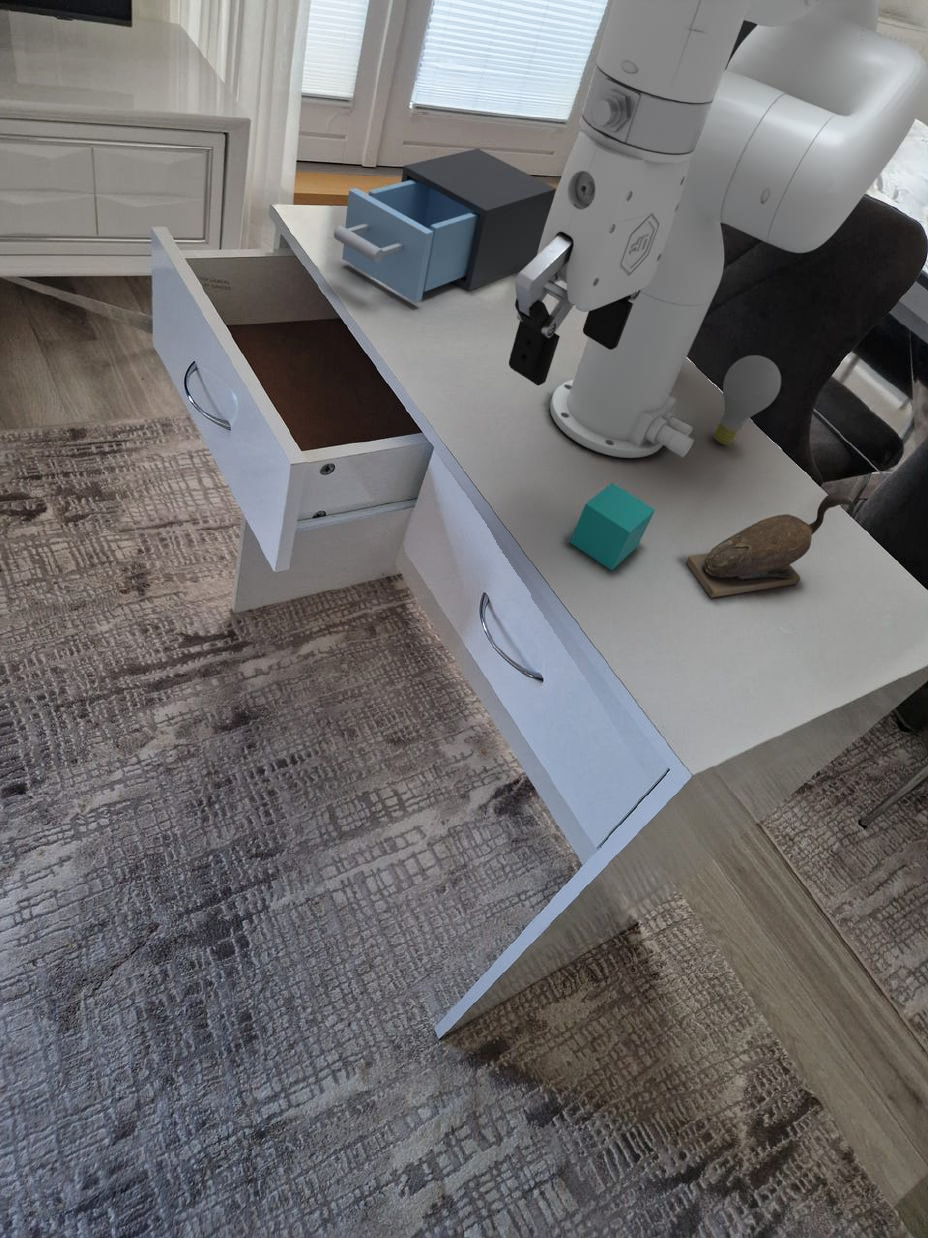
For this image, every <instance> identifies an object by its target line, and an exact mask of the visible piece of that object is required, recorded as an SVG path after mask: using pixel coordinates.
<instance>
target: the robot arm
mask: <svg viewBox="0 0 928 1238" xmlns="http://www.w3.org/2000/svg"><path fill="white" fill-rule="evenodd" d="M879 10H880V9H879V0H612V5H611V7H610V11H609V16H608V19H607V22H606V27H605V28H604V32H603V36H602V40H601V44H600V49H599V52H598V55H597V58H596V63H595V65H594V67H593V71H592V75H591V79H590V83H589V86H588V89H587V94H586V97H585V101H584V105H583V108H582V112H581V115H580V118H579V122H578V124H579V127H580V130H581V131H579V132H578V135H577V137H576V140H575V142H574V144H573V147H572V149H571V151H570V154H569V156H568V159H567V161H566V164H565V167H564V169H563V172H562V175H561V177H560V180H559V183H558V186H557V188H556V192H555V195H554V199H553V203H552V205H551V209H550V212H549V215H548V218H547V221H546V224H545V228H544V231H543V234H542V238H541V241H540V245H539V249H538V253H537V256H536V257H535V258H534V259H533V260H532V261H531V262H530V263H529V264H528V265H527V266H526V267H525V268H524V269H522V270H520V271H518V274H517V275H516V277H515V283H514V284H515V294H516V295H515V296H516V298H515V302H514V307H515V309H516V312H517V313H516V318H517V320H519V323H518V327H517V330H516V334H515V337H514V342H513V345H512V348H511V351H510V356H509V360H508V366H509V367H510V369H511V370H513V371H514V372H515V373H517V374H519V375H520V376H522V377H524V378H525V379H527V380H528V381H530V382H531V383H533V384H534V385H536V386H541V385H543V384H545V383H546V381H547V378H548V375H549V373H550V369H551V366H552V363H553V359H554V356H555V353H556V350H557V347H558V343H559V341H560V335H559V334H557V333H556V332H557V330H558V329H559V327H560V326H561V325H562V323H563V321H564V320H565V319H566V318H567V316H568V315H569V313H570V311H572V309H573V307H574V306H575V308H576V310H578V311H580V312H582V313H587V312H588V313H587V316H586V319H585V321H584V324H583V327H582V333H583V335H585V336H586V337H587V341H586V343H585V346H584V349H583V351H582V352H583V353H582V354H581V358H580V361H579V363H578V366H577V369H576V373H575V375H574V378H573V379H570V380H568V381H565V382H563V383H562V384H560V385H559V386H557V387H556V389H555V390H554V391H553V394H552V396H551V399H550V403H549V411H550V415H551V417H552V419H553V421H554V423H555V424H556V425H557V427H558V428H559V429H560V430H561V431H562V432H563V433H564V434H565V435H566V436H567V437H569V438H570V439H572V440H573V441H575V442H576V443H577V444H579V445H581V446H583V447H585V448H586V449H589V450H591V451H594V452H596V453H600V454H603V455H606V456H609V457H615V458H623V459H624V458H625V459H635V458H644V457H647V456H650V455H653V454H654V453H657V452H658V451H659V450H661V448H662V447H663V446H664V447H666V448H667V449H668V450H670V451H671V452H673V453H675V454H677V455H678V456H680V457H681V458H684V457H685V456H686V455H687V453H688V452H689V451H690V450H691V448H692V446H693V445H694V439H693V438H691V437H689V436H690V434H691V433H692V432H693V427H692V426H691V425H689V424H688V423H686V422H684V421H681V420H679V419H678V418H676V417H675V413H673V412H672V410H673V408H674V406H675V404H676V401H677V398H675V397H673V396H671V395H670V394H671V392H672V390H673V388H674V386H675V383H676V381H677V379H678V377H679V374H680V373H681V370H682V368H683V366H684V364H685V361H686V359H687V357H688V355H689V352H690V350H691V348H692V345H693V344H694V341H695V339H696V337H697V335H698V333H699V330H700V328H701V325H702V323H703V321H704V319H705V317H706V315H707V313H708V310H709V308H710V306H711V304H712V301H713V299H714V297H715V295H716V294H717V290H718V288H719V286H720V283H721V280H722V277H723V273H724V268H725V267H724V266H725V245H724V237H723V231H722V228H721V224H720V222H721V223H723V225H727V226H729V227H731V228H734V229H736V230H737V231H741V232H743V233H745V234H747V235H749V236H751V237H753V238H755V239H758V240H760V241H761V242H764V243H767V244H769V245H771V246H774V247H776V248H778V249H781V250H784V251H786V252H790V253H795V254H804V253H809V252H812V251H814V250H816V249H818V248H820V247H821V246H822V245H824V244H825V243H826V242H827V241H829V239H830V238H831V237H832V236H833V235H834V234H835V233H836V232H837V231H838V230H839V229H840V227H841V226H842V225H843V224H844V222H845V221H846V220H847V218H849V216H850V214H851V213H852V212H853V210H854V209H855V208H856V207H857V205H858V204H859V203H860V201H861V200H862V198H863V197H864V196H865V195H866V193H867V192H868V190H869V189H870V188H871V186H872V185H873V184H874V182H875V181H876V180H877V178H878V177H879V176H880V174H881V173H882V172H883V171H884V169H885V168H886V166H887V165H888V164H889V162H890V161H891V160H892V158H893V157H894V155H895V154H896V153H897V151H898V150H899V148H900V147H901V145H902V144H903V142H904V140H905V139H906V137H907V136H908V134H909V132H910V131H911V128H912V127H913V125H914V123H915V122H916V119H917V118H918V115H919V113H920V110H921V108H922V106H923V102H924V100H925V98H926V95H927V90H928V65H927V64H928V63H927V62H926V60H925V58H924V57H923V55H922V54H921V53H920V51H918V50H916V49H915V48H914V47H912V46H910V45H909V44H906V43H905V42H902V41H900V40H897V39H895V38H892V37H890V36H887V35H885V34H882V33H879V32H877V29H878V24H879V12H880V11H879ZM744 21H746V22H751V23H752V24H756V26H755V27H754V28H753V29H752V30H751V31H750V32H749V33H748V34H747V36H746V37H745V38H744V39H743V40H742V42H741V43H740V45H739V46H738V47H737V49H736V50H735V52H734V54H733V55H732V52H733V50H734V47H735V44H736V42H737V39H738V37H739V34H740V31H741V29H742V26H743V23H744ZM731 55H732V56H731ZM730 57H731V58H730ZM561 281H562V282H563V283H565V284H566V288H563V287H562V286H560V285H558V284H557V283H558V282H561ZM547 295H549V296H550V297H552V298H554V299H556V300H557V301H558V302H557V304H555V306H554V308H553V309H552V310H551V312H550V313H549V311H548V309H547V306H546V304H545V302H543V301H544V300H545V298H546V296H547Z"/></svg>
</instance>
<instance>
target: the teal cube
mask: <svg viewBox="0 0 928 1238" xmlns="http://www.w3.org/2000/svg"><path fill="white" fill-rule="evenodd" d="M655 511H656V509H655V508H654V507H652V506H650V505H649V504H647V503H645V502H644V501H642V500H641V499H639V498H638V497H636V496H634V495H633V494H631V493H630V492H628V491H626V490H625V489H624V488H622V487H620V486H619V485H617V484H616V483H614V482H611V483H610V484H608V485H607V486H606V487H604V489H602V490H601V491H599V493H598V494H596V495H595V496H593V497H592V498H591V499H590V500H588V501H587V502H586V503H585V504H584V506H583V509H582V512H581V513H580V516H579V519H578V521H577V523H576V526H575V528H574V531H573V533H572V536H571V538H570V540H569V543H570V544H571V545H572V546H574V547H575V548H577V549H579V550H580V551H582V552H583V553H584V554H586V555H587V556H589V557H590V558H592V559H594V560H595V561H596V562H597V563H599V564H600V565H602V566H604V567H605V568H607V569H608V570H610V571H614V570H615V569H616V568H617V566H619V565H620V564H621V563H622V562H623V561H625V559H626V558H628V557H629V555H631V553H633V552H634V551H635V550H636V549H637V548H638V546H639V544H640V542H641V540H642V538H643V537H644V534H645V532H646V530H647V528H648V526H649V524H650V521H651V520H652V518H653V516H654V514H655Z"/></svg>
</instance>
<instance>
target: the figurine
mask: <svg viewBox="0 0 928 1238" xmlns="http://www.w3.org/2000/svg"><path fill="white" fill-rule="evenodd" d="M840 505H847V506H849V507H850V513H849V517H850V518H851V517H853V515H854V511H855V503H854V502H853V501H852V500H851V499H849V498H847V497H844V496H840V495H838V494H837V493H835V492H831V493H829V494H827V495H826V496H825V497H824V498H823V499H822V501H821V502H820V504H819V506H818V508H817V512H816V519H815V520H814V521H813V522H811V523H810V524H809V523H807V522H806V521H804V520H803V519H801V518H799V517H797V516H795V515H792V514H787V513H786V514H785V513H784V514H777V515H773V516H770V517H767V518H765V519H761V520H759V521H757V522H756V523H753V524H751V525H750V526H747V527H745V528H743V529H741V530H740V531H738V532H736V533H735V534H732V536H731V535H730V536H729V537H728V538H726V539H724V540H723V541H721V542H720V543H718V544H717V545H716V546H715V547H713V548H712V549H711V550H710V551H709V553H701V554H696V555H695V554H694V555H689V556H688V558H687V559H686V561H685V563H686V565H687V566H688V567H689V569H690V570H691V572H692V573H693V575H694V577H695V578H696V579H697V581H698V582H699V584H700V585H701V586H702V588H703V589H704V590H705V592H706V593H707V595H708V596H709V597H710V598H716V597H724V596H730V595H736V594H742V593H748V592H754V591H760V590H761V591H762V590H768V589H774V588H778V587H785V586H792V585H793V586H794V585H797V584H799V582H800V581H801V579H802V577H801V576H800V575H799V574H798V572H797V571H796V570H795V569H794V568H793V567H792V565H791V564H793V563H795V562H797V561H798V560H799V559H801V558H802V557H803V556H805V555H806V553H807V552H809V550H810V548H811V545H812V539H813V538H812V536H813V535H814V534H815V533H816V532H817V531H818V530H819V528H821V526H822V525H823V523H824V520H825V519H824V518H825V514H826V512H827V511H828V510H829V509H831V508H834V507H837V506H840Z"/></svg>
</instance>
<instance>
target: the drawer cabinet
mask: <svg viewBox="0 0 928 1238" xmlns="http://www.w3.org/2000/svg"><path fill="white" fill-rule="evenodd" d="M413 179H415V180H417V181H419V182H421V183H423V184H425V185H426V186H428V187H430V188H432V189H434V190H436V191H437V192H439V193H441V194H443V195H445V196H447V197H448V198H450V199H452V200H454V201H456V202H458V203H459V204H461V205H463V206H465V207H467V208H469V209H471V210H472V211H474V212H476V213H478V214H480V217H479V221H478V226H477V231H476V236H475V240H474V245H473V250H472V254H471V259H470V264H469V268H468V273H467V276H464V277H461V278H459V279H456V280H454V281H451V282H452V283H453V284H455V285H457V286H459V287H461V288H462V289H464V290H465V291H467V292H472V291H475V290H476V289H479V288H481V287H483V286H487V285H488V284H490V283H493V282H496V281H498V280H501V279H503V278H505V277H508V276H510V275H513V274H515V273H517V272H518V273H519V272H520V271H521V270H522V269H524V268H525V267H526V266H527V265H528V264H529V263H530V262H531V261H532V260H533V259H534V258H535V257H536V256H537V253H538V249H539V245H540V241H541V238H542V234H543V231H544V228H545V224H546V221H547V218H548V215H549V212H550V209H551V205H552V203H553V200H554V197H555V194H556V191H557V188H556V187H554V186H552V185H550V184H548V183H546V182H545V181H543V180H540V179H538V178H537V177H534V176H533V175H531V174H529V173H528V172H526V171H523V170H521V169H519V168H517V167H515V166H514V165H511V164H509V163H507V162H505V161H503V160H502V159H499V158H498V157H495V156H493V155H492V154H490V153H488V152H486V151H484V150H482V149H480V148H475V149H469V150H465V151H461V152H457V153H453V154H448V155H444V156H440V157H435V158H431V159H427V160H422V161H418V162H414V163H410V164H409V163H408V164H405V165H403V167H402V175H401V181H400V183H401V182H405V181H409V180H413Z"/></svg>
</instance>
